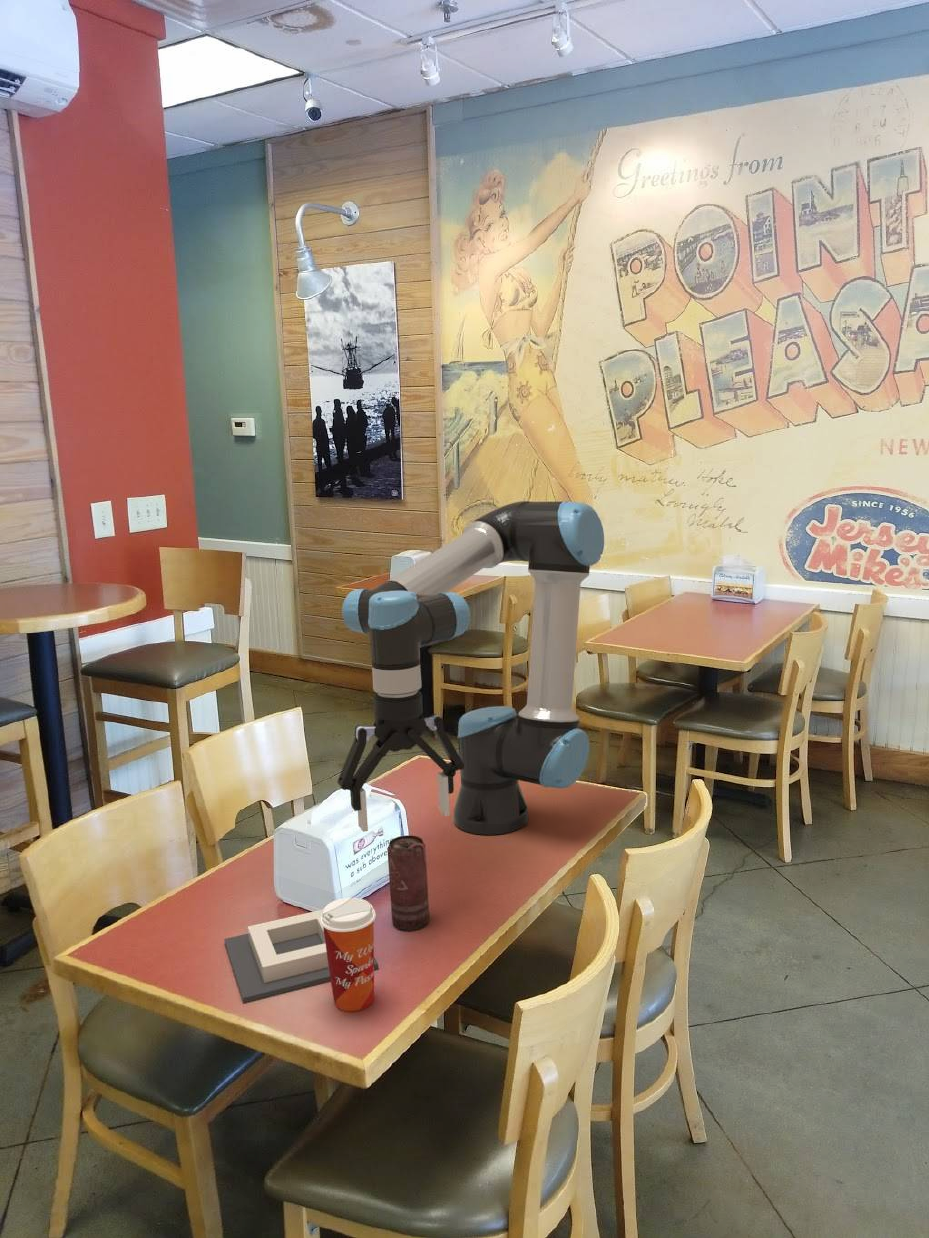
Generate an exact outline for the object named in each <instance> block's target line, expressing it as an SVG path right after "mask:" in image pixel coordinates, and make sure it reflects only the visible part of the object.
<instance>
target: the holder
mask: <svg viewBox="0 0 929 1238" xmlns="http://www.w3.org/2000/svg"><path fill="white" fill-rule="evenodd" d="M323 910H324V908H323V909H319V910H316V911H310V912H305V913H303V914H297V915H293V916H292V915H291V916H289V917H284V918H279V919H276V920H271V921H266V922H262V923H258V924H257V923H256V924H253V925H249V926H247V934H248V935H249V942H250V945H251V948H252V950H253V953H254V956H255V959H256V962H257V964H258V967H259V970H260V973H261V975H262V978H263V981H264V983H266V982H270V981H274V980H278V979H282V978H286V977H290V976H295V975H299V974H303V973H307V972H311V971H315V970H319V969H323V968H327V967H329V966H328V959H327V951H326V944H325V936H324V929H323V926H322V925H321V923H320V918H321V916H322V913H323ZM317 933H318V934H319V936H320V938H321V940H322V942H323V943H324V944H320V945H316V946H312V947H308V948H304V949H299V950H295V951H291V952H287V953H283V954H278V955H276V952H275V950H274V947H273V945H272V944H274V943H278V942H283V941H287V940H291V939H295V938H300V937H304V936H308V935H312V934H317Z"/></svg>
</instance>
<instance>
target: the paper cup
mask: <svg viewBox="0 0 929 1238" xmlns="http://www.w3.org/2000/svg"><path fill="white" fill-rule="evenodd" d="M323 909H324V910H323ZM323 909H322V910H323V913H322V916H321V918H320V923H321V925H322V926H323V929H324V936H325V944H326V951H327V959H328V966H329V972H330V978H331V981H330V985H331V991H332V997H333V1001H334V1005H335V1007H336V1008H337V1009H338V1010H340V1011H343V1012H349V1013H351V1012H352V1013H353V1012H359V1011H363V1010H366V1009H367V1008H369V1007H370V1006H371V1005H372V1003H373V1002H374V997H375V970H374V958H375V946H374V945H375V944H374V943H375V942H374V941H375V940H374V938H375V937H374V936H375V934H374V930H375V929H374V927H375V926H374V921H375V920H376V917H377V916H376V915H377V914H376V910H375V909H374V907H373V905H372V903H370V902H369V901H367V900H366V899H363V898H359V897H344V898H339V899H336V900H333V901H330V902H329V903H328V904H327V905H326V906H325V907H324V908H323Z"/></svg>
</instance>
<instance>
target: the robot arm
mask: <svg viewBox="0 0 929 1238" xmlns="http://www.w3.org/2000/svg"><path fill="white" fill-rule="evenodd" d="M461 533H462V534H461V535H459V536H457V537H456V538H454V539H453V540H450V541H449V542H448V543H446V544H445V545H443V546H441V547H440V548H437V550H435V551H433V552H431V553H430V554H428V555H427V556H425V557H423V558H422V559H420V560H419V561H417V562H416V563H413V565H412V564H411V566H409V567H407V568H406V569H404V570H403V571H401V572H399V573H398V574H396V575H394V576H393V577H391V578H390V579H388V580H386V581H385V582H383V583H382V584H380V585H378V586H377V587H375V588H373V589H369V588H362V589H360V588H359V589H354V590H352V591H350V592H349V593H348V594H347V595H346V597H345V598H344V601H343V603H342V606H341V607H342V608H341V615H342V620H343V622H344V624H345V626H346V627H347V628H348V629H349V630H351V631H352V632H356V633H359V634H360V633H361V634H364V635H366V636H369V642H370V653H371V656H370V657H371V675H372V689H373V692H375V693H374V694H373V710H374V711H373V713H374V724H373V726H362V725H360V724H359V725H358V724H357V725H356V726H355V728H354V740H353V742H352V744H351V747H350V749H349V752H348V754H347V756H346V759H345V761H344V764H343V766H342V769H341V772H340V775H339V777H338V779H337V784H338V786H339V787H340V788H341V789H342V790H343V791H346V790H348V791H349V794H350V805H351V808H352V810H354V812H357V820H358V821H357V822H358V823H357V825H358V827H359V828H360V830H361V831H362V832H363V833H364V832H369V825H368V823H369V822H368V810H367V809H368V808H367V793H366V790H365V789H364V788H363V786H364V785H365V784H366V782H367V781H368V779H369V777H370V776H371V775H372V774H373V772H374V770H375V769H376V768H377V766H378V765H379V764H380V762H381V761H382V759H383V758H384V757H386V756H387V754H388V753H389V752H393V753H395V752H400V751H403V750H406V751H407V750H408V751H409V750H412V749H413V748H414V747H415V746H417V747H418V748H419V749H421V751H423V753H425V754H426V755H427V756H428V757H429V758H430V759H431V761H433V762H434V764H436V765H437V766H438V767H439V768H440V769H441V770H442V771H438V772H437V785H438V787H437V789H438V807H439V808H438V809H439V812H440V813H442V815H443V816H444V817H447V816H450V801H449V800H450V796H449V795H450V794H454V792H455V789H454V787H455V786H454V785H455V783H454V777H455V776H456V773H457V771H460V772H459V774H460V788H459V791H458V794H457V798H456V802H455V805H454V809H453V822H454V825H455V827H457V828H458V829H459V830H461V831H464V832H467V833H469V834H474V835H484V836H485V835H486V836H487V835H489V836H490V835H491V836H492V835H494V836H495V835H501V834H502V835H503V834H509V833H512V832H514V831H517V830H520V829H521V828H523V827H524V826H526V825H527V823H528V821H529V809H528V808H529V807H528V804H527V802H526V799H525V797H524V794H523V792H522V789H521V787H520V786H521V785H520V784H519V781H522V782H525V783H531V784H535V785H539V786H542V787H544V788H555V789H567V788H568V787H571V786H573V784H575V783H576V782H577V781H578V779H579V778H580V776H582V774H583V772H584V770H585V768H586V765H587V764H588V763H587V762H588V759H589V754H590V740H589V739H588V738H589V737H588V734H587V733H586V732H585V731H583V729H581V728H579V721H580V716H578V714H577V713H576V712H575V711H574V710H573V696H574V683H575V682H574V681H575V668H576V655H577V653H576V652H577V639H578V638H577V637H578V626H579V625H578V624H579V612H580V611H579V610H580V597H581V595H580V594H581V584H582V582H583V581H584V580H585V579H587V578H588V577H589V576H590V571H591V570H590V569H591V567H592V566H594V565H596V564H597V563H598V562H599V561H600V560H601V558H602V556H601V555H602V554H603V553H604V549H605V533H604V528H603V524H602V521H601V518H600V516H599V514H598V513H597V511H596V509H594V508H593V506H590V505H589V504H588V503H584V502H576V501H570V500H568V501H565V500H564V501H530V500H529V501H527V500H525V501H523V500H520V501H516V502H511V503H508V504H506V505H503V506H501V507H498V508H495V509H493V510H491V511H489V512H488V513H486V514H483V515H482V516H480V517H478V518H476V519H475V520H473V521H471V522H470V523H468V524H467V525H466V526H465V527H464V529H463V530H462V532H461ZM506 562H528V565H527V566H528V568H527V572H528V573H529V574H530V576H532V577H533V578H534V598H533V610H532V625H531V626H532V628H531V640H530V654H529V656H530V657H529V670H528V684H527V685H528V686H527V696H526V697H527V700H526V705H525V706H524V707H523V708H522V709H521V710H519V712H518V714H517V712H516V709H515V708H514V707H511V706H505V705H503V706H502V705H499V706H496V705H495V706H487V707H481V708H477V709H474V710H473V709H472V710H470V711H468V712H466V713H464V714H462V716H461V717H459V719H458V720H459V721H458V732H457V733H458V734H457V740H458V741H457V742H458V743H457V744H458V752H457V750H456V748H455V746H454V745H453V743H452V741H451V739H450V738H449V736H448V734H447V732H446V730H445V727H444V720H443V718H442V717H440V716H439V715H438V714H436V713H432V714H431V715H430V716H429V717H425V718H424V715H423V713H424V712H423V711H424V709H423V694H422V692H421V690H420V689H422V673H421V670H422V669H421V650H420V648H425V647H427V646H430V645H431V646H432V645H435V644H438V643H441V642H445V641H450V640H452V639H454V638H457V637H459V636H461V635H463V634H464V633H465V632H466V631H467V630H468V627H469V625H470V622H471V610H470V606H469V604H468V603H467V601H466V599H465V598H464V597H463V596H461V595H460V594H458V593H456V592H450V591H452V590H453V589H454V588H456V587H457V586H459V585H460V584H462V583H463V582H465V581H467V580H468V579H469V578H471V577H472V576H474V575H475V574H477V573H478V572H480V571H481V570H483V569H492V568H495V567H497V566H498V565H500V564H501V563H506ZM517 716H518V717H517ZM427 727H428V729H429V730H430V731H433V734H434V735H435V737H436V738H437V740H438V742H439V743H440V745H441V747H442V748H443V750H444V752H445V754H446V756H447V757H448V759H449V760H450V762H449V763H447V762H446V761H445V759H443V758H442V757H441V755H439V754H438V753H437V752H436V751H435V750H434V749H433V747H431V745H430V744H428V743H427V741H425V740H424V739H423V738H422V736H423V733H424V732H425V730H426V728H427ZM372 736H374V737H376V741H375V742H374V744H373V745H372V749H371V750H370V752H369V753H368V754H367V756H366V757H365V758H364V760H363V762H362V763H361V765H360V766H359V764H360V761H361V759H362V756H363V753H364V751H365V748H366V745H367V742H369V741H370V740H371V737H372ZM358 766H359V768H358Z"/></svg>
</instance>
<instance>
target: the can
mask: <svg viewBox="0 0 929 1238" xmlns="http://www.w3.org/2000/svg"><path fill="white" fill-rule="evenodd" d="M386 850H387V862H388V866H387V867H388V878H389V879H388V880H389V890H390V891H389V893H390V908H391V909H390V910H391V912H390V913H391V922H392V924H393V925H394V926H395V928H396V929H399V930H401V931H406V932H407V931H410V932H411V931H416V930H419V929H420V930H421V929H422V928H424V927H425V926H427V924H428V922H429V920H430V904H429V900H430V899H429V888H428V887H429V886H428V885H429V884H428V870H427V869H428V868H427V853H426V852H427V850H426V844H425V843H424V841H423V838H421V837H420V836H415V835H410V834H409V835H401V836H397V837H393V839H391V840H390V841H389V843H388V845H387V848H386Z"/></svg>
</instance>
